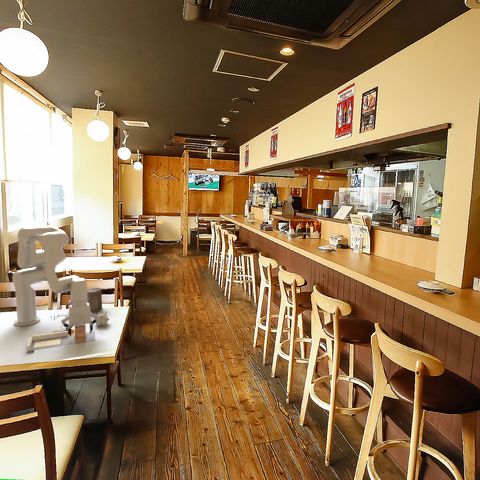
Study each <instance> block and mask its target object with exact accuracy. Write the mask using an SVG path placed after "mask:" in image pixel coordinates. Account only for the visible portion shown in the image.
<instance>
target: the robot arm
mask: <svg viewBox="0 0 480 480" xmlns="http://www.w3.org/2000/svg"><path fill="white" fill-rule="evenodd" d="M16 237H17V241H18V250H17V266H18V267H19V269H20V270H19V269H18V270H17V271H15V272H14V273H13V274H12V275H11V276H12V277H11V278H12V282H13V286H14V291H15V302H16V304H15V305H16V318H17V319H16V320H14V322H13V323H14V325H15V326H17V327H25V326H32V325H35V324H37V323H39V322H41V318H40V317H39V316H38V315H37V296H36V291H35V289H34V288H33V287H32V285H34V284H40V283H42V282H45V281H46V282H47V284H48V285H49V288H50V289H51V292H52V293H54V294H56V295H57V294H58V295H59V294H64V293H67V292H70V291H71V293H70V299H71V300H68V301H67V304H68V305H69V304H71V305H70V307H69V308H68V316H67V317H65V318H64V319H61V324H62V325H63V327H64V328H66V329H67V331H68V335H70V336H71V335H72V326H73V327H75V325H81V324H85V325H88V324H89V332H90V333H92V332H94V325H95V324H96V323H95V322H96V321H97V319H98V316H97V314H93V313H92V312H90V306H89V303H87V289H88V287H87V286H88V285H87V284H88V283H87V282H88V281H87V280H86V278H84V277H80V276H77V275H68V276H64V277H60V278H59V277H58V275H57V274H56V267H57V266H58V265H60V264H62V262H64V261H65V260H66V259H67V256H66V254H65V251H64V250H63V247H67V246H68V245H69V243H70V238H69V236H68V234H67V233H66V232H65V231H64V230H62V229H60V228H57V227H56V226H52V225H35V226H24V227H22V228H20V229H19V230H18V231H17V236H16ZM37 242H38V243H39V245H40V246H41V248H42V249H38V247H37V245H38V244H37ZM92 318H94V319H93V320H92ZM67 321H68V323H66V322H67Z"/></svg>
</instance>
